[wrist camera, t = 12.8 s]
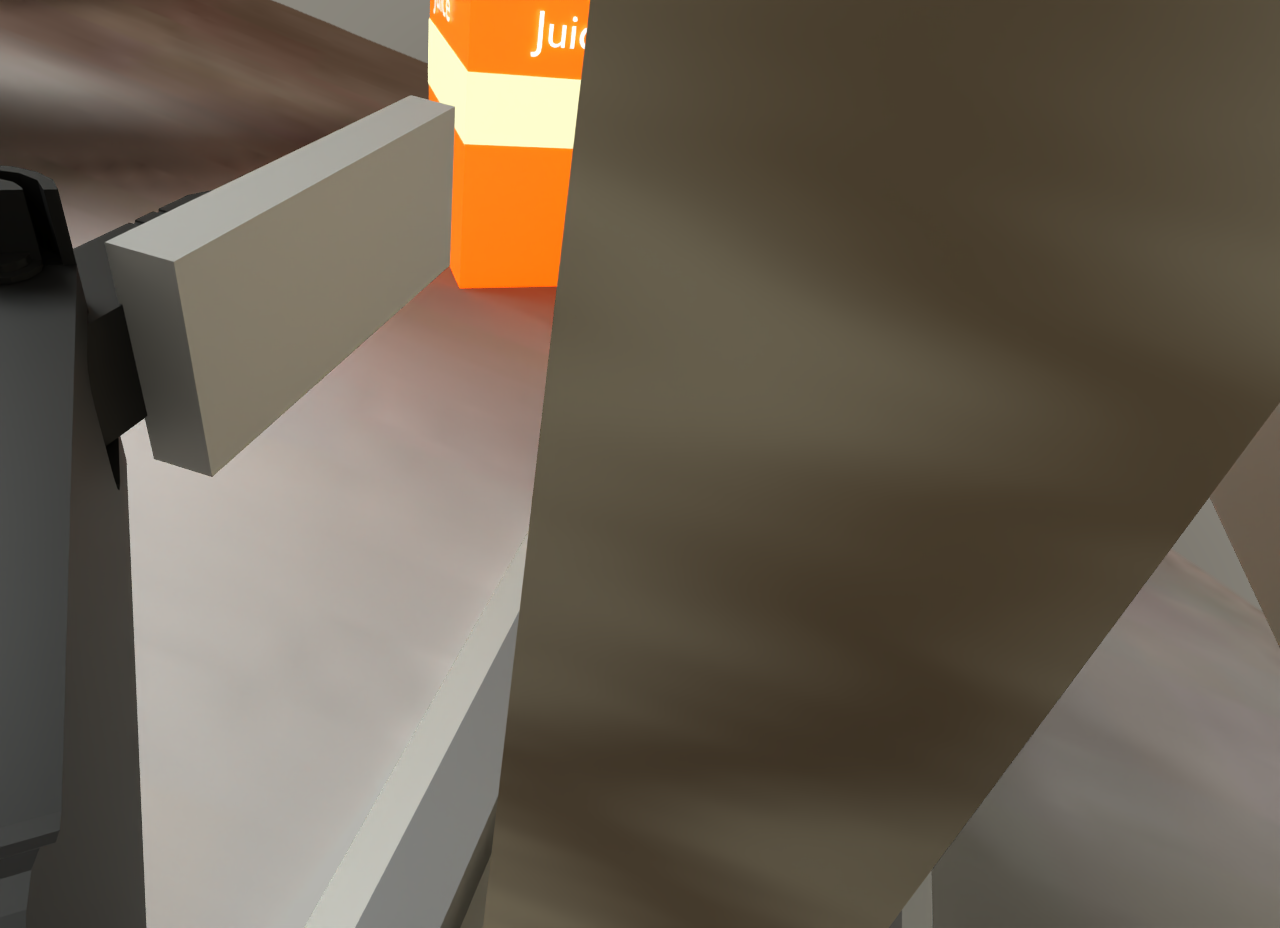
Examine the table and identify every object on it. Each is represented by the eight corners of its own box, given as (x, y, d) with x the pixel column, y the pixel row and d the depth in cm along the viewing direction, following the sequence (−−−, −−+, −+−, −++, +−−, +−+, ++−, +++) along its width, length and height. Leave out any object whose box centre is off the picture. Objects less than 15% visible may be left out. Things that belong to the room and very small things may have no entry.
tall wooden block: (471, 1030, 14) (612, -188, 4) (619, 634, 21) (797, -161, 11) (737, 1129, 14) (1567, 17, 4) (797, 690, 21) (1141, -89, 11)
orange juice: (652, 285, 39) (762, -294, 27) (458, 290, 36) (483, -369, 24) (597, 214, 44) (668, -293, 32) (424, 212, 41) (431, -354, 29)
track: (915, 1435, 12) (1343, 1321, 6) (200, 1148, 13) (52, 845, 8) (913, 622, 25) (1057, 351, 19) (550, 512, 26) (587, 227, 20)
